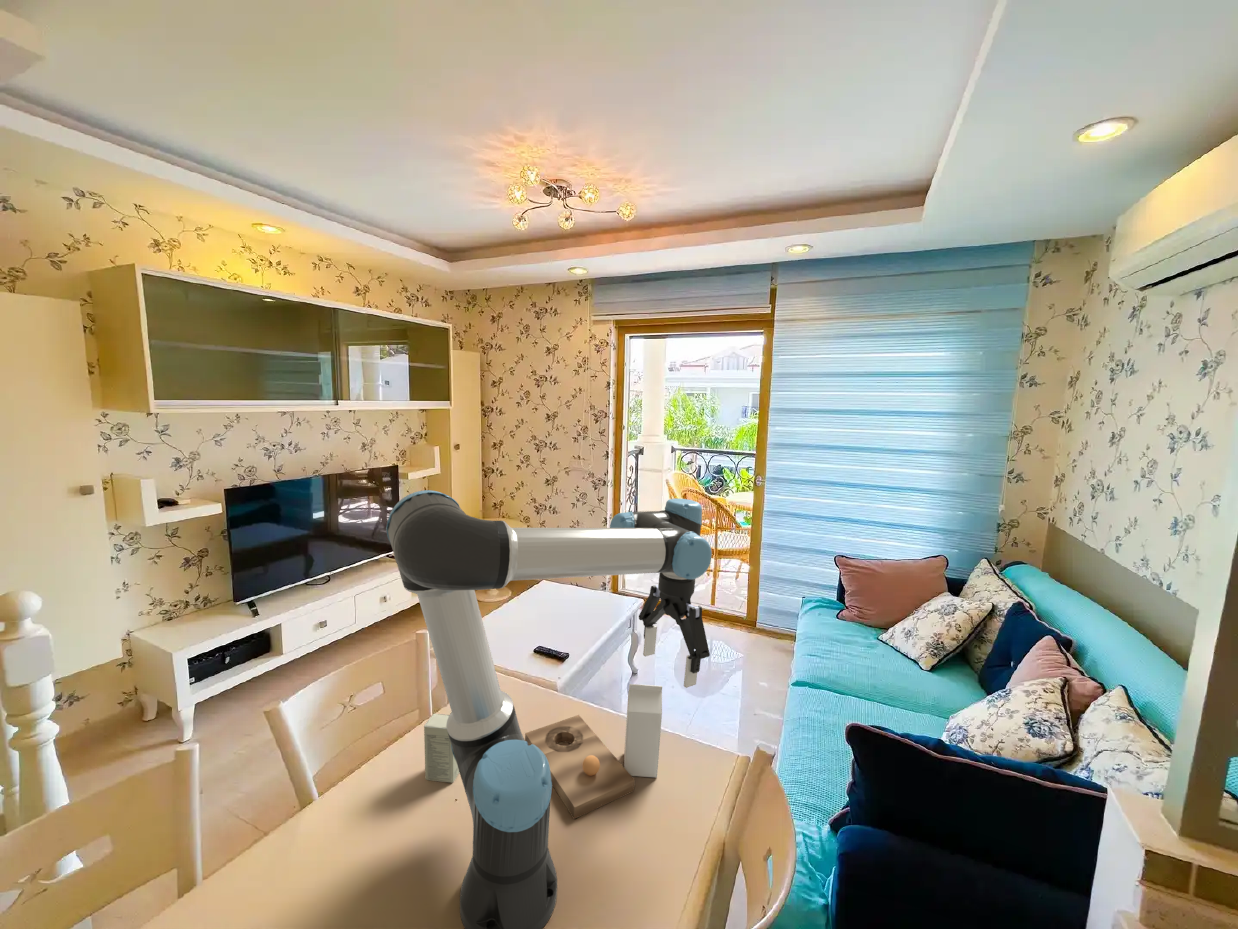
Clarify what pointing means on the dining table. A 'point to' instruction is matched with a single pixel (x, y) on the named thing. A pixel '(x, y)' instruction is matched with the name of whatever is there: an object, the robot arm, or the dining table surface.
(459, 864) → the dining table surface
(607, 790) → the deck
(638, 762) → the milk carton
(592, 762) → the ball
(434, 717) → the skincare box
